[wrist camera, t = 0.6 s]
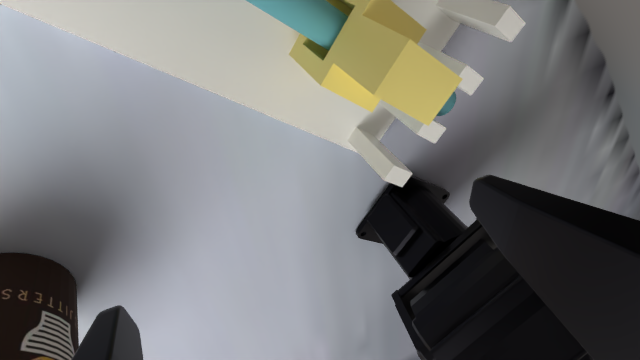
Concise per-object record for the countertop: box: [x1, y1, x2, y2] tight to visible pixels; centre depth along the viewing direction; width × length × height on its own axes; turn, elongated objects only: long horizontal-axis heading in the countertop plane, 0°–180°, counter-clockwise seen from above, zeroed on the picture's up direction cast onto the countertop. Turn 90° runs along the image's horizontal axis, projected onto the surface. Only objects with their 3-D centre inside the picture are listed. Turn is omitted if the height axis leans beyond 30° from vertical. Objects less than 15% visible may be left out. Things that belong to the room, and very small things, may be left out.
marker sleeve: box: [289, 0, 463, 126], centre depth 15 cm, size 3×4×7 cm
